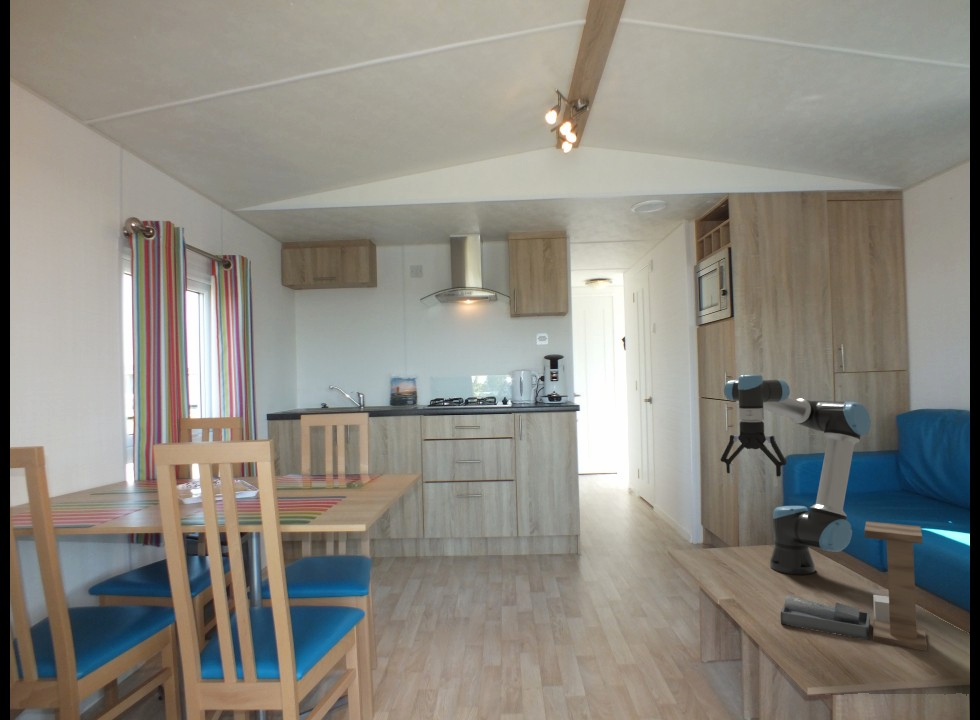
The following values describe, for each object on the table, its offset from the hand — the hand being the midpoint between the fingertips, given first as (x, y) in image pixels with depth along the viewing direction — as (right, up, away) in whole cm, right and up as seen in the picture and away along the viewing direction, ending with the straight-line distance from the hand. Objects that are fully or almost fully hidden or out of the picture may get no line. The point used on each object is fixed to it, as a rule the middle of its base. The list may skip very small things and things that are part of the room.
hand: (753, 484), depth 204 cm
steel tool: (+9, -34, -24) cm, 42 cm away
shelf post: (+25, -35, -35) cm, 55 cm away
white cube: (+30, -36, -22) cm, 52 cm away
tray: (+10, -36, -25) cm, 45 cm away
